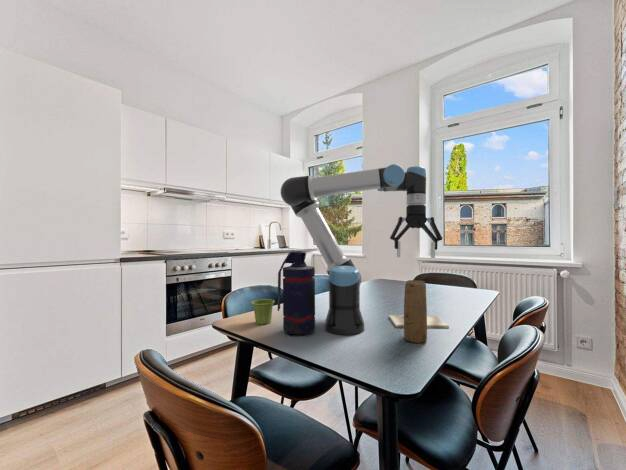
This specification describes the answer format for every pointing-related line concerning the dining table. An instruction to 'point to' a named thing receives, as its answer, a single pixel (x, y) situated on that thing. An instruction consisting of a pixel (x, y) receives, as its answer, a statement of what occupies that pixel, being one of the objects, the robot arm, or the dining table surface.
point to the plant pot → (263, 310)
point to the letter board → (431, 321)
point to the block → (415, 311)
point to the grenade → (297, 295)
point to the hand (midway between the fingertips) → (415, 257)
